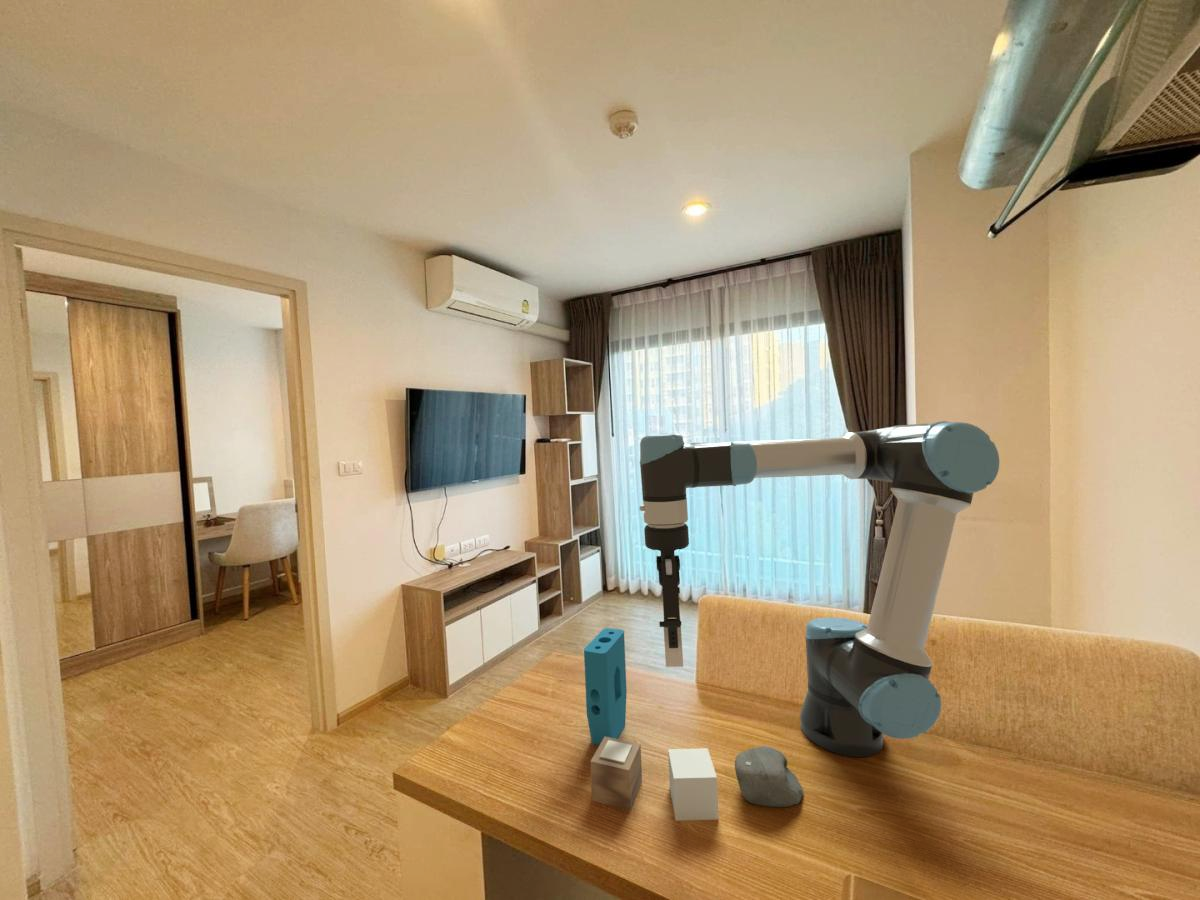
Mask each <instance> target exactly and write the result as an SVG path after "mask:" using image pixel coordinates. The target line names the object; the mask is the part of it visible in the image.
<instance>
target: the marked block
mask: <svg viewBox="0 0 1200 900" xmlns="http://www.w3.org/2000/svg"><path fill="white" fill-rule="evenodd" d="M641 745H642V744H641V743H637V742H634V741H630V740H624V739H619V738H618V739H615V738H610V737H604V738H603V740H602V742H601V744H600V745H598V747H597V749H596V750H595V753H594V754H593V756H592V758H591V760H590V779H591V782H590V783H591V784H590V785H591V801H592V802H594V803H599V804H603V805H607V806H611V807H614V808H618V809H621V810H625V811H629V812H631V811H632V809H633V807H634V804H635V801H636V798H637V796H638V794H639V790H640V789H641V785H642V783H643V772H642V771H643V769H642V768H643V767H642V746H641Z"/></svg>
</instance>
